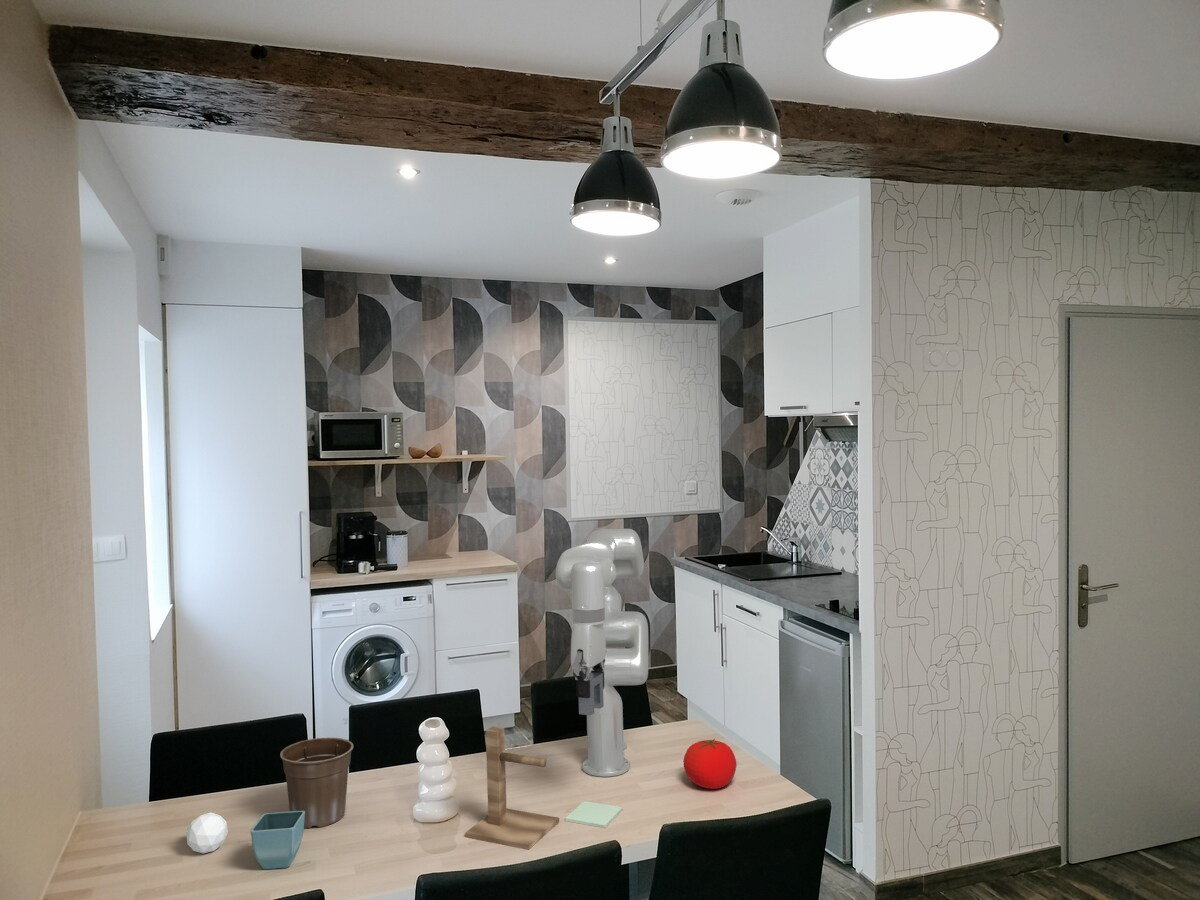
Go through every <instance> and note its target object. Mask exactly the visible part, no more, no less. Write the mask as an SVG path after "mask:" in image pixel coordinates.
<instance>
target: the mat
mask: <svg viewBox="0 0 1200 900" xmlns="http://www.w3.org/2000/svg"><path fill="white" fill-rule="evenodd" d="M623 808H624V807H622V806H617V805H611V804H605V803H600V802H599V803H598V802H592V801H586V800H583V801H582V802H581V803H580V804H579V805H578V806H577V807H575V809H574V810H572V811H571V812H570V813H569V814H568V815H567V816H565V818H564V821H565V822H570V823H576V824H581V825H584V826H585V825H587V826H591V827H592V826H593V827H597V828H604V829H606V828H607V827H608V826H609V825H610V824H611V823H612V822H613V820H615V818H617V816H619V814H620V813H621V812H622V811H623ZM611 821H612V822H611ZM610 822H611V823H610Z"/></svg>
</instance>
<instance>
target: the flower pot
mask: <svg viewBox="0 0 1200 900" xmlns="http://www.w3.org/2000/svg"><path fill="white" fill-rule="evenodd" d="M304 819H305V811H292V812H290V811H282V812H281V811H280V812H267V813H265V812H264V813H263V814H261V816H260V817H259V819H258V820H257V822H256V823H255V824H254V825H253V826H252V828H251V829H250V836H251V843H252V848H253V849H252V850H253V854H254V857H255V859H256V861H257V862H258V864H259V865H260V866H261V867H262V869H264V870H271V869H283V868H285V869H286V868H289V867H290V866H291V865H292V863H293V861H294V859H295V858H296V856H297V854H298V852H299V849H300V846H301V844H302V840H303V836H304V830H305V828H304Z"/></svg>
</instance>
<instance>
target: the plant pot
mask: <svg viewBox="0 0 1200 900" xmlns="http://www.w3.org/2000/svg"><path fill="white" fill-rule="evenodd" d="M353 749H354V744H353V742H352V741H350V740H348V739H345V738H341V737H318V738H310V739H309V738H308V739H305V740H300V741H297V742H295V743H293V744H290V745H288V746H286V747H284V749H282V750H281V751H280V755H279V756H280V759H281V760H282V766H283V767H282V768H283V772H284V774H285V779H286V780H285V781H286V788H287V789H286V791H287V797H288V807H289V812H292V811H305V819H304V829H311V828H312V827H317V828H322V827H327V826H330V825H333V824H334V823H336V822H338V821H340V820H341V819H343V817H344V816H345V813H346V807H347V806H346V804H347V790H348V778H349V776H348V775H349V766H350V764H351V758H352V756H351V755H352V751H353Z"/></svg>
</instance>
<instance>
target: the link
mask: <svg viewBox="0 0 1200 900" xmlns="http://www.w3.org/2000/svg"><path fill="white" fill-rule="evenodd" d="M588 680H590V698H580V697H578V715H584V716H587V715H592V714H594V708H599V709H601V708H602V707H604V701H603V673H595V672H590V673H589V678H588Z"/></svg>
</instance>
